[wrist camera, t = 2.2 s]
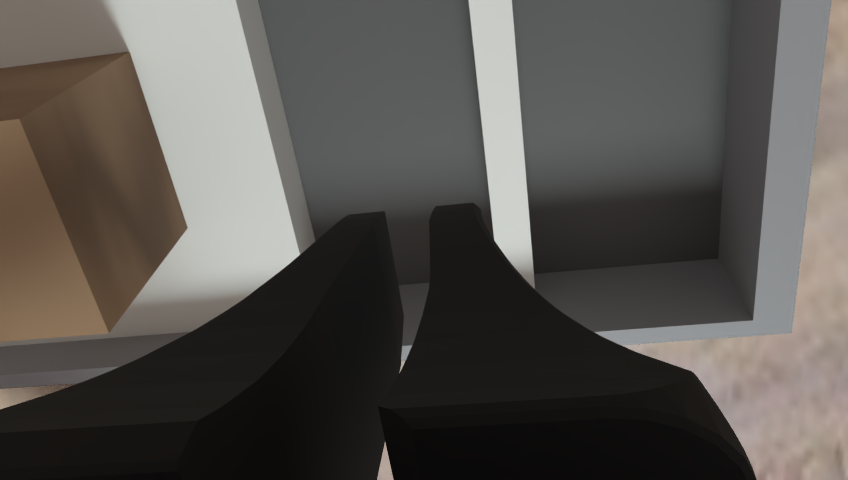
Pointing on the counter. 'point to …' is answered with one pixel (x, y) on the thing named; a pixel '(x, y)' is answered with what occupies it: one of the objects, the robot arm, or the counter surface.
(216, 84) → the box
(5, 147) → the walnut block
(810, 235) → the counter surface
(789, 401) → the counter surface
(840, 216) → the counter surface
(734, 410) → the counter surface
